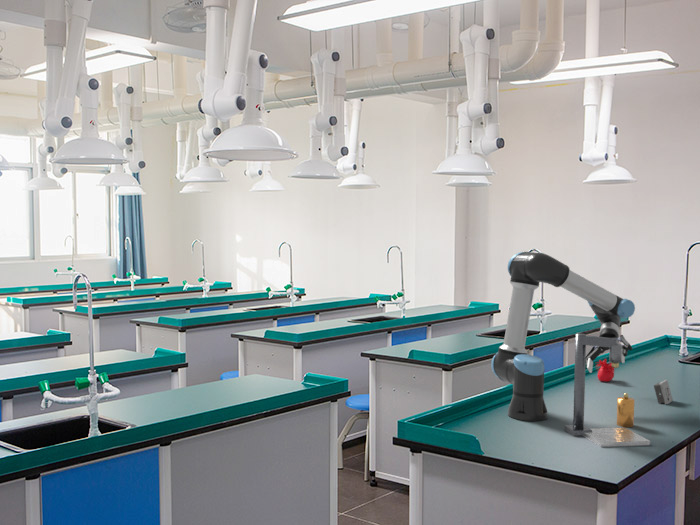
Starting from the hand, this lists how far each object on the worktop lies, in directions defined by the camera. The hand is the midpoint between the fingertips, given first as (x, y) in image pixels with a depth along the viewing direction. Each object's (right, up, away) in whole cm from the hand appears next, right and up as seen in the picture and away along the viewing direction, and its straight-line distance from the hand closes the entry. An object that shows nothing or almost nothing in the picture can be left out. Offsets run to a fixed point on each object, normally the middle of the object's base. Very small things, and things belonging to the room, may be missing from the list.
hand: (605, 365), depth 273 cm
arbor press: (-10, -21, -29) cm, 37 cm away
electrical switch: (+34, -20, +24) cm, 46 cm away
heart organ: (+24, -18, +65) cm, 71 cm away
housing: (+3, -21, -12) cm, 24 cm away
